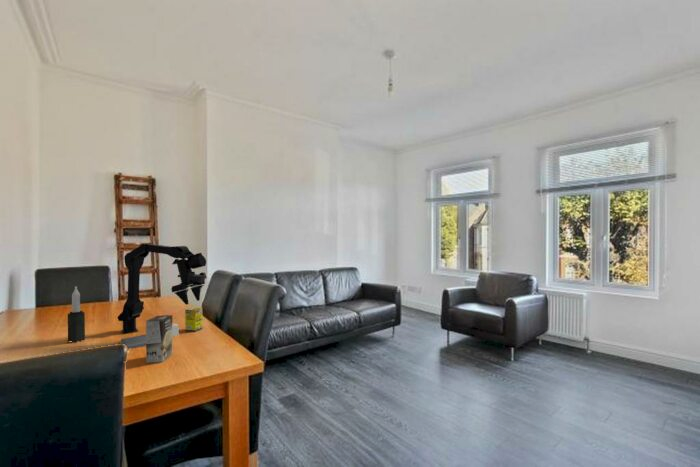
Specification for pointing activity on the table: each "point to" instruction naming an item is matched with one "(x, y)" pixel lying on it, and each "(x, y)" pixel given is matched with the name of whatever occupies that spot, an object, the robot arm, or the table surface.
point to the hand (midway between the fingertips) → (192, 302)
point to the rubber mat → (134, 341)
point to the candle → (76, 319)
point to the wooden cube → (175, 329)
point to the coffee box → (159, 338)
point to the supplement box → (193, 319)
